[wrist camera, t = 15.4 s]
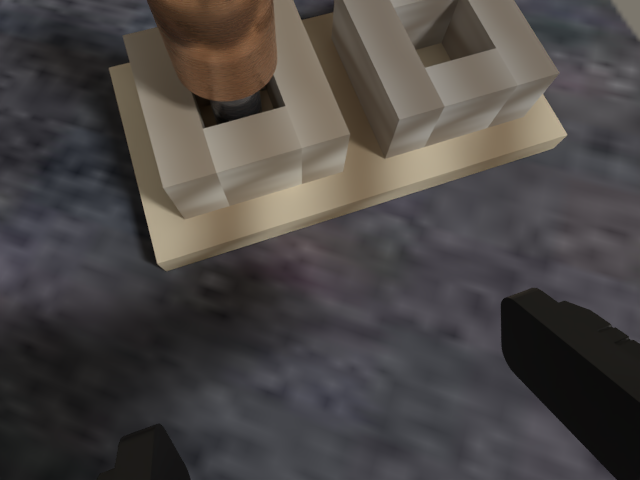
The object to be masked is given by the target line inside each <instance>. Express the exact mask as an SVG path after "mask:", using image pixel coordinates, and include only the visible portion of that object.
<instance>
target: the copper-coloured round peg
mask: <svg viewBox="0 0 640 480" xmlns="http://www.w3.org/2000/svg"><path fill="white" fill-rule="evenodd" d="M147 2H148V4H149V7H150V9H151V12H152V14H153V17H154V19H155V22H156V24H157V27H158V29H159V32H160V34H161V37H162V39H163V42H164V44H165V47H166V49H167V52H168V54H169V57H170V59H171V62H172V64H173V67H174V69H175V72H176V74H177V76H178V78H179V80H180V81H181V83H182V84H183V85H184V86H185V87H186V88H187V89H188V90H189V91H191V92H192V93H194V94H196V95H198V96H200V97H202V98H205V99H209V101H210V104H211V107H212V110H213V113H214V117H215V120H216V123H217V125H219V124H222V123H226V122H229V121H233V120H237V119H240V118H244V117H248V116H251V115H255V114H259V113H262V105H261V98H260V91H259V90H261V89H262V88H263V87H264V86H265V85H266V84H267V83H268V82H269V81H270V79H271V78H272V76H273V74H274V72H275V69H276V66H277V44H276V30H275V17H274V3H273V0H147Z"/></svg>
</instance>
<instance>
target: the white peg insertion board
mask: <svg viewBox="0 0 640 480" xmlns="http://www.w3.org/2000/svg"><path fill="white" fill-rule="evenodd" d="M273 3H274V17H275V30H276V44H277V66H276V69H275V72H274V74H273V76H272V78H271V79H270V81H269V82H268V83H267V84H266V85H265V86H264V87H263V88H262V89H261V90H259V91H260V98H261V105H262V113H259V114H255V115H251V116H248V117H244V118H240V119H237V120H233V121H229V122H226V123H222V124H219V125H217V123H216V120H215V117H214V113H213V110H212V107H211V104H210V101H209V99H205V98H202V97H200V96H198V95H196V94H194V93H192V92H191V91H189V90H188V89H187V88H186V87H185V86H184V85H183V84H182V83H181V81H180V80H179V78H178V76H177V74H176V72H175V69H174V67H173V64H172V62H171V59H170V57H169V54H168V52H167V49H166V47H165V44H164V42H163V39H162V37H161V34H160V32H159V29H158V27H156V28H152V29H148V30H144V31H140V32H135V33H131V34H127V35H123V39H124V43H125V46H126V50H127V54H128V58H129V61H130V63H126V64H122V65H118V66H114V67H110V68H109V71H110V75H111V79H112V83H113V87H114V91H115V95H116V99H117V103H118V107H119V111H120V115H121V119H122V123H123V127H124V131H125V135H126V139H127V143H128V148H129V152H130V156H131V160H132V164H133V168H134V172H135V176H136V180H137V184H138V188H139V192H140V196H141V200H142V204H143V208H144V212H145V216H146V220H147V224H148V228H149V232H150V236H151V240H152V244H153V248H154V252H155V256H156V260H157V264H158V265H159V266H160V267H162V268H163V269H164V270H165V271H169V270H172V269H175V268H179V267H182V266H185V265H188V264H191V263H194V262H197V261H201V260H204V259H207V258H210V257H213V256H216V255H219V254H223V253H226V252H229V251H232V250H235V249H238V248H242V247H245V246H248V245H251V244H254V243H257V242H260V241H264V240H267V239H270V238H273V237H276V236H279V235H282V234H286V233H289V232H292V231H295V230H298V229H301V228H304V227H308V226H311V225H314V224H317V223H320V222H323V221H326V220H330V219H333V218H336V217H339V216H342V215H345V214H348V213H352V212H355V211H358V210H361V209H364V208H367V207H371V206H374V205H377V204H380V203H383V202H386V201H389V200H393V199H396V198H399V197H402V196H405V195H408V194H411V193H415V192H418V191H421V190H424V189H427V188H430V187H433V186H437V185H440V184H443V183H446V182H449V181H452V180H455V179H459V178H462V177H465V176H468V175H471V174H474V173H477V172H481V171H484V170H487V169H490V168H493V167H496V166H500V165H503V164H506V163H509V162H512V161H515V160H518V159H522V158H525V157H528V156H531V155H534V154H537V153H540V152H544V151H547V150H550V149H553V148H554V147H555V146H556V145H557V144H558V143H559V142H561V141H562V140H563V139H564V138H565V137H566V136H567V133H566V132H565V130H564V128H563V127H562V125H561V123H560V122H559V120H558V118H557V117H556V115H555V113H554V112H553V110H552V108H551V107H550V105H549V103H548V102H547V100H546V98H545V97H544V95H543V93H544V92H545V90H546V89H547V88H548V87H549V85H550V84H551V83H552V82H553V81H554V79H555V78H556V77H557V76H558V74H559V72H558V70H557V68H556V67H555V65H554V64H553V62H552V60H551V59H550V57H549V56H548V54H547V52H546V51H545V49H544V48H543V46H542V44H541V43H540V41H539V40H538V38H537V36H536V35H535V33H534V32H533V30H532V28H531V27H530V25H529V24H528V22H527V20H526V19H525V17H524V16H523V14H522V12H521V11H520V9H519V8H518V6H517V4H516V3H515V1H514V0H334V12H332V13H328V14H324V15H320V16H316V17H312V18H308V19H304V20H301V18H300V15H299V13H298V11H297V8H296V6H295V4H294V1H293V0H273Z"/></svg>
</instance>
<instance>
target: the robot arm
mask: <svg viewBox="0 0 640 480" xmlns="http://www.w3.org/2000/svg"><path fill="white" fill-rule="evenodd" d="M501 343H502V352H503V355H504V358H505V360H506V362H507V364H508V366H509V367H510V369H511V370H512V371H513V372H514V374H515V375H516V376H517V377H518V378H519V379H520V380H521V381H522V382H523V383H524V384H525V385H526V386H527V387H528V388H529V389H530V390H531V391H532V392H533V393H534V394H535V395H536V396H537V397H538V398H539V400H540V401H541V402H542V403H543V404H544V405H545V406H546V407H547V408H548V409H549V410H550V411H551V412H552V413H553V414H554V415H555V416H556V417H557V418H558V419H559V420H560V421H561V422H562V423H563V424H564V425H565V426H566V427H567V429H568V430H569V431H570V432H571V433H572V434H573V435H574V436H575V437H576V438H577V439H578V440H579V441H580V442H581V443H582V444H583V445H584V446H585V447H586V448H587V449H588V450H589V451H590V452H591V453H592V454H593V455H594V456H595V458H596V459H597V460H598V461H599V462H600V463H601V464H602V465H603V466H604V467H605V468H606V469H607V470H608V471H609V472H610V473H611V474H612V475H613V476H614V477H615V478H616V479H617V480H640V344H639V343H638V342H636V341H635V340H630V339H629V336H627V335H626V334H624V333H623V332H621V331H620V330H618V329H617V328H616V327H615V328H613V327H612V326H611V324H610V323H608V322H607V321H605V320H604V319H602V318H601V317H599V316H598V315H597V314H595V313H594V312H592V311H591V310H588V309H586V308H583V307H580V306H578V305H575V304H572V303H569V302H567V301H562V302H560V303H558V302H557V301H555V300H554V299H552V298H551V297H550V296H548V295H547V294H546V293H544V292H543V291H541V290H540V289H537V288H531V289H528V290H525V291H523V292H520V293H517V294H514V295H512V296H509V297H506V298H504V299H503V300H502V302H501ZM97 480H190V476H189V473H188V470H187V468H186V466H185V464H184V462H183V461H182V459H181V457H180V455H179V453H178V452H177V450H176V448H175V446H174V445H173V443H172V441H171V439H170V438H169V436H168V434H167V432H166V430H165V429H164V427H163V426H162V425H161V424H156V425H153V426H151V427H148V428H145V429H142V430H140V431H137V432H134V433H131V434H129V435H126V436H123V437H122V438H121V439H120V442H119V446H118V452H117V458H116V464H115V468H114V469H111V470H109V471H106V472H103V473H101V474H100V475H99V476H98V478H97Z"/></svg>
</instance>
